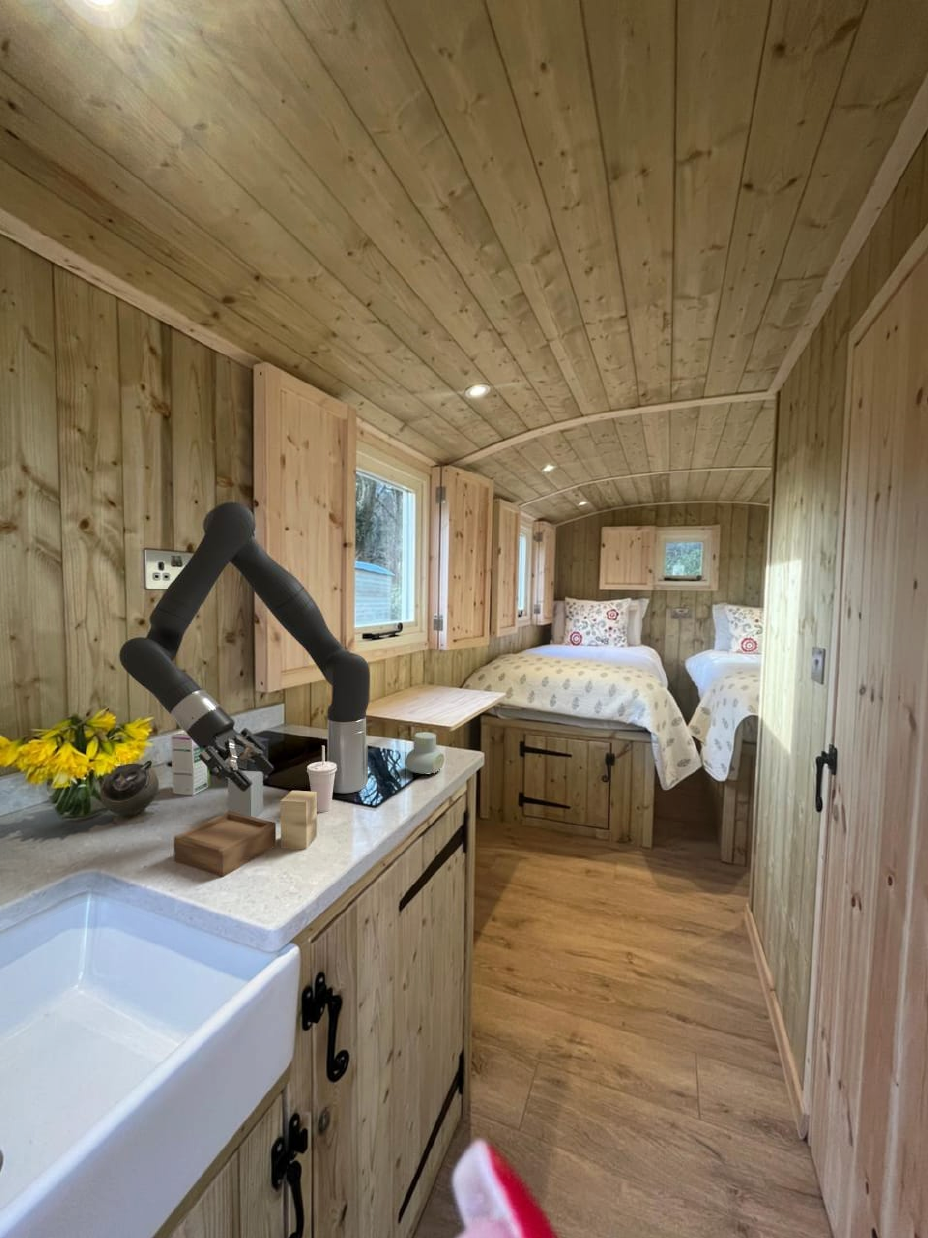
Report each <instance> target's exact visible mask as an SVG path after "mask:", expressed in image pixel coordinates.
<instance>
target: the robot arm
mask: <svg viewBox="0 0 928 1238" xmlns="http://www.w3.org/2000/svg"><path fill="white" fill-rule="evenodd" d="M256 526H257V523H256V518H255V515H254V514H253V511H252V510H250V508H249V507H247V506H246V505H244V504H243V503H241V502H237V501H227V502H223V503H222V502H221V503H220V504H218V505H216V506H215V507H214V508H213V509H211V510H210V511H208V512H207V513H206V514H205V517H204V519H203V523H202V527H203V528H202V529H203V533H204V535H203V537H202V539H201V541H200V543H199V545H198V547H197V549H196V550H195V552H194V553H193V555H192V556H191V558H190V559H189V560H188V562H187V563H186V564H185V566H184V567H183V568H182V569H181V570H180V571H179V573H178V574H177V575H176V576H175V578H174V579H173V581H172V582H171V583H170V585H169V586H168V587H167V588H166V589H165V591H164V592H163V594H162V596H161V598H160V599H159V600H158V602H157V604H156V605H155V607H154V608H153V610H152V611H151V614H150V615H149V623H150V628H149V631H148V633H147V635H146V636H145V637H140V636H139V637H133V638H131V639H129V640H127V641H125V642H124V644H123V645H121V647H120V649H119V655H118V657H119V662H120V665H121V666H122V667H123V669H124V670H125V672H127V673H128V674H129V675H130V676H131V677H132V678H133V679H134V680H135V681H136V682H138V683H139V684H140V685H141V686H142V687H143V688H145V689H146V690H148V691H149V692H150V693H151V694H152V695H153V696H154V697H155V698H156V699H157V700H158V702H159V703H160V704H161V706H162V707H164V709H166V711H167V712H168V713H169V714H170V715H171V716H172V718H173V719H174V720H175V722H176V723H177V725H178V726H179V727H180V728H181V729H182V731H185V732H186V733H187V734H188V735H189V737H190V738H191V739H192V740H193V741H194V742H195V743H196V744H197V745H198V746H199V747H200V748H201V749H205V750H204V751H203V752H202V753H201V754H200V755H199V758H200V759H201V760H202V761H203V763H204V764H205V765H206V766H207V767H208V768H209V772H211V774H212V775H214V777H215V778H216V779H217V780H222V779H223V778H224V777H225V779H227V780H228V778H229V779H230V780H231V781H232V782H233V783H234V784H235V785H236V786H237V787H238V788H239V789H240V790H241V791H243V792H244V791H246V790H247V789H248V788H249V787H250V786H251V785H252V782H251V781H250V780H249V779H248V777H247V776H246V775H245V774H244V773H243V772H242V771H241V770H240V769H239V770H237V769H238V767H237V763H236V760H237V759H238V758H240V759H248V760H250V761H252V762H254V764H255V765H256V766H257V768H258V769H259V770H260V771H261V772H262V773H263V774H264V775H265V776H267V775H268V776H269V775H270V774H271V773H272V771H274V769H275V767H274V766H273V764H272V763H271V762H270V761H269V759H268V760H267V759H266V758H265V757H264V756H263V750H264V749H265V746H264V745H263V744H262V743H261V742H260V741H259V740H258V739H257V738H256V737H255V736H256V735H254V734H253V733H252V732H251V731H250V730H249V729H248V728H245V727H244V728H243V729H242V730H241V731H240V732H238V731H236V730H235V729H234V726H235V720H234V719H233V718H232V717H231V716H230V715H229V714H228V713H227V712H226V710H224V709H223V708H222V706H221V705H220V704H219V703H218V702H217V701H216V699H214V697H212V696H211V695H210V694H209V693H207V692H206V691H205V690H204V689H203V688H202V687H201V686H200V685H199V684H198V683H197V682H196V681H195V680H194V678H192V677H191V676H190V675H189V674H188V673H187V672H185V671H183V670H182V669H180V668H179V666H177V665H176V664H175V662H174V660H175V658H176V656H177V654H178V652H179V649H180V646H181V644H182V641H183V639H184V635H185V633H186V631H187V630H188V628H189V627H190V625H191V624H192V622H193V621H194V619H195V617H196V615H197V614H198V612H199V610H200V609H201V607H202V606H203V604H204V602H205V600H206V599H207V597H208V595H209V593H210V592H211V590H212V588H213V587H214V585H215V584H216V581H217V580H218V579H219V577H220V575H221V574H222V572H223V571H224V570H225V568H226V567H227V566H228V565H229V562H230V563H231V564H232V565H233V567H235V568H236V570H238V571H239V572H240V574H241V575H242V576H243V578H244V579H245V580H246V582H247V583H248V584H249V585H250V587H251V589H252V590H253V591H254V592H255V594H256V595H257V596H258V598H259V599H260V600H261V601H262V603H263V604H264V605H265V607H266V608H267V609H268V610H269V612H270V613H271V614H272V616H274V617H275V619H276V620H277V621H278V622H279V623H280V624H281V626H282V627H283V628H284V629H285V630H286V631H287V632H288V633H289V634H290V635H291V637H292V638H293V639H294V640H295V641H296V642H297V643H298V644H299V645H301V647H303V649H304V650H305V651H306V652H307V653H308V655H309V656H310V657H311V660H313V662H314V663H315V665H316V666H317V668H318V669H319V672H321V673H322V674H321V675H322V676H323V677H324V679H325V681H327V683H328V684H329V685H331V686H332V689H331V690H332V692H331V693H332V694H331V695H332V696H331V704H330V705H328V707H327V713H326V714H327V719H326V720H327V724H326V725H327V762H333V763H335V764H336V765H337V770H336V771H335V778H334V785H333V793H334V794H335V793H337V794H351V793H355V792H360V791H362V790H363V789H365V788H366V786H367V783H369V782H368V780H369V775H368V773H369V768H368V767H369V764H368V763H369V760H368V758H369V757H368V755H369V747H368V745H367V709H368V708H369V702H370V686H371V684H370V679H371V677H370V675H371V673H370V666H369V664H368V662H367V660H366V659H365V658H364V657H362V656H361V655H359V654H357V653H352V652H351V651H348V649H347V648H346V647H344V646H343V645H342V643H341V642H340V641H338V639H337V638H336V637H335V636H334V635H333V633H332V632H331V630H330V629H329V627H328V626H327V623H326V621H325V618H324V616H323V614H322V612H321V609H320V608H319V606H318V605H317V603H316V601H315V600H314V598H313V597H312V595H311V594H310V593H309V592H308V590H307V589H306V588H305V587H304V586H303V584H302V583H301V582H300V581H299V579H297V578H296V577H295V576H294V575H293V574H292V573H291V572H290V571H288V570H287V569H286V568H284V567H283V566H282V565H280V564H279V563H278V562H277V561H276V560H274V559H273V558H272V557H271V556H270V555H269V554H268V553H267V552H266V551H265V550H264V548H263V547H262V546H261V544H260V543H259V541H258V540H257V539H256V537H255V536H254V535H255V531H256ZM254 744H255V745H256V746H257V747H258V748H256V747H254ZM245 747H246V749H245ZM250 753H252V754H253V755H251V754H250ZM217 766H218V767H219V768H218V767H217ZM219 769H220V770H219Z"/></svg>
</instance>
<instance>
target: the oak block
mask: <svg viewBox="0 0 928 1238" xmlns="http://www.w3.org/2000/svg"><path fill="white" fill-rule="evenodd" d="M317 813H318V812H317V792H311V790H310V791H309V790H308V791H306V790H305V791H303V790H291V791H290V792H289V793H288V794H286V795H285V796H284V797H283V798H282V799H281V800H280V848H281V849H282V848H283V849H295V850H296V849H299V850H308V848H310V846H311V845H312V843H314V841H315V840H316V838H317V837H318V816H317V815H318V814H317Z"/></svg>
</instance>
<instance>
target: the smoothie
mask: <svg viewBox="0 0 928 1238" xmlns="http://www.w3.org/2000/svg"><path fill="white" fill-rule="evenodd" d="M325 749H326V748H325V745H321V761H316V762H312V763H310V764H308V765H307V767H306V768H307V769H306V773H307V774H308V779H309V786H310V792H317V813H326V812H328V810H329V811H330V810H331V808H332V802H333V801H332V800H333V793H334V792H333V785H334V778H335V771H336V770H337V765H336V764H335V763H333V762H328V761H325V760H326V759H325V755H326V752H325V751H326V750H325Z"/></svg>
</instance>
